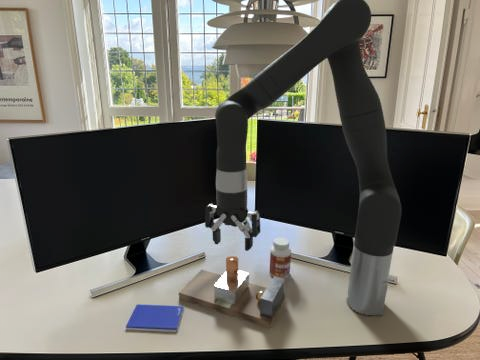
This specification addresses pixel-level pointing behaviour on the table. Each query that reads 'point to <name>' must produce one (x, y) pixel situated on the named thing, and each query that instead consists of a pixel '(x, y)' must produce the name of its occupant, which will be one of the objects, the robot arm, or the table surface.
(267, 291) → the grey block with knob
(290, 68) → the robot arm
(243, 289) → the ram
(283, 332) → the table surface
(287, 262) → the pill bottle
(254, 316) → the board
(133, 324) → the hard drive
